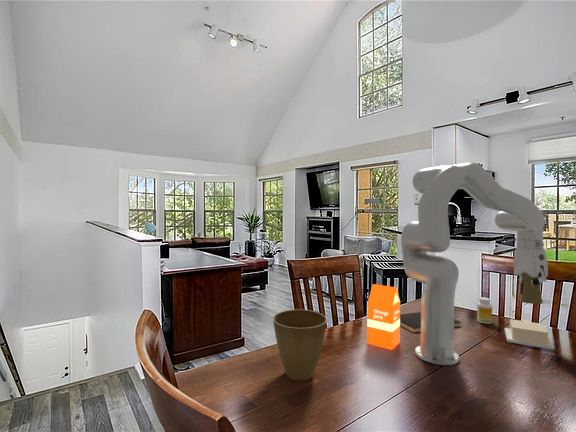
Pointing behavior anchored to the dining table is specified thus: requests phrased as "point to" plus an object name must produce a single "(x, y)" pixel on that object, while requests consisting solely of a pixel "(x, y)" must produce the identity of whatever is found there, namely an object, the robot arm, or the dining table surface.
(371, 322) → the orange juice
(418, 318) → the hardcover book
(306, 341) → the plant pot
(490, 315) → the supplement bottle
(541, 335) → the plinth stand
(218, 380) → the dining table surface
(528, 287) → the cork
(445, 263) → the robot arm
